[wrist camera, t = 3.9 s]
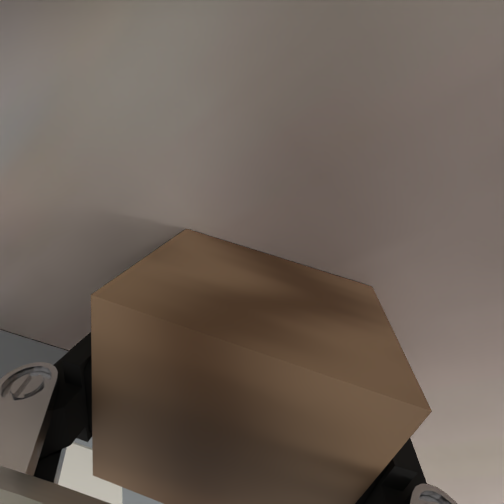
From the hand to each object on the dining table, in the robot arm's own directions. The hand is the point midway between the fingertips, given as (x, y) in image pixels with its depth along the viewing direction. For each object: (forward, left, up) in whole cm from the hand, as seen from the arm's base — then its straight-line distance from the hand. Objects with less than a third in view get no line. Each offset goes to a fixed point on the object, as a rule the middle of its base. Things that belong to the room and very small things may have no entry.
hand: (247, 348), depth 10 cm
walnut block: (0, 0, -1) cm, 1 cm away
